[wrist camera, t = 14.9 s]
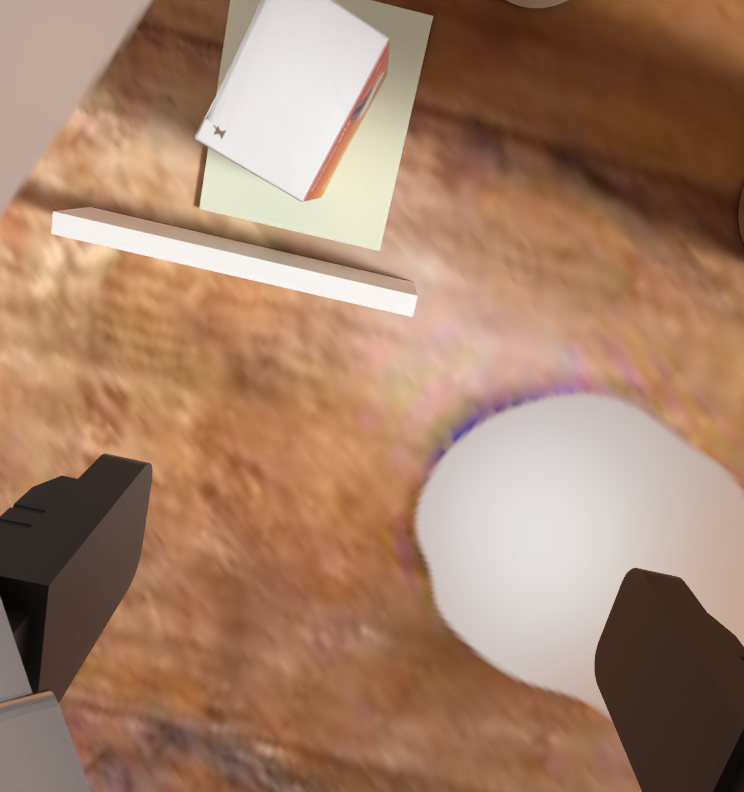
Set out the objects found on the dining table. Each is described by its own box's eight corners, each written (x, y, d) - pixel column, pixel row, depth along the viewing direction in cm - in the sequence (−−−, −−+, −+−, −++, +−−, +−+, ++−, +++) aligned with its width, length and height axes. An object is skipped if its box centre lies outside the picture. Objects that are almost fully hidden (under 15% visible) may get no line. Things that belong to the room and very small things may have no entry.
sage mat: (433, 17, 39) (433, 15, 38) (379, 250, 43) (379, 251, 42) (236, -33, 38) (235, -35, 38) (200, 208, 42) (199, 208, 42)
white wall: (413, 282, 43) (417, 295, 38) (409, 300, 43) (412, 316, 39) (90, 206, 42) (53, 211, 37) (88, 226, 42) (51, 233, 38)
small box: (321, 199, 41) (302, 208, 31) (237, 148, 41) (189, 141, 30) (391, 71, 39) (394, 37, 29) (303, 15, 38) (276, -41, 28)
